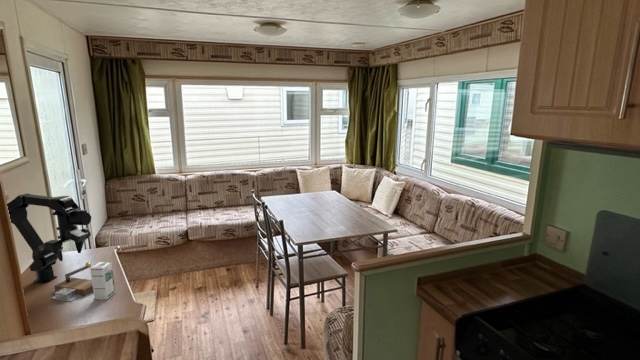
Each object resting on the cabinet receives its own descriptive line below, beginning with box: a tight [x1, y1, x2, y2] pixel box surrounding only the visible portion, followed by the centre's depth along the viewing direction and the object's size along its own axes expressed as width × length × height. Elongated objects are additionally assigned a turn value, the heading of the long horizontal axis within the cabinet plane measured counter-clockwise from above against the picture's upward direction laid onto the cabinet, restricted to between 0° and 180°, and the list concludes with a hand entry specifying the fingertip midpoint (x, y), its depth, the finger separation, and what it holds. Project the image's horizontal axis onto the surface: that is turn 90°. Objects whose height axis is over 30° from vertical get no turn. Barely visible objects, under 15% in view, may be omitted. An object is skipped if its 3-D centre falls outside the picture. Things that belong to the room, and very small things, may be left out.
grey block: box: [54, 288, 77, 301], centre depth 147 cm, size 6×4×2 cm
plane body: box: [53, 276, 94, 297], centre depth 154 cm, size 16×8×3 cm, turn 77°
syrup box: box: [89, 261, 116, 301], centre depth 147 cm, size 6×6×14 cm
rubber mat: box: [51, 295, 82, 303], centre depth 147 cm, size 10×5×1 cm, turn 77°
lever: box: [64, 261, 92, 282], centre depth 159 cm, size 12×2×5 cm, turn 161°
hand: (70, 256), depth 159 cm, fingers open, 9 cm apart
